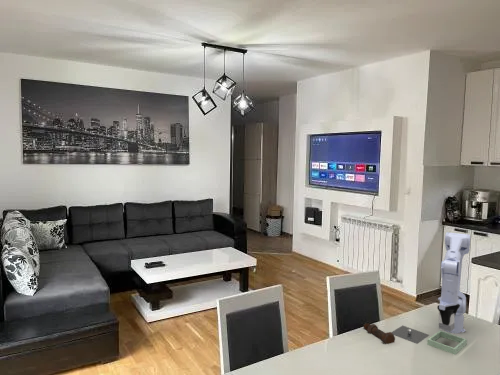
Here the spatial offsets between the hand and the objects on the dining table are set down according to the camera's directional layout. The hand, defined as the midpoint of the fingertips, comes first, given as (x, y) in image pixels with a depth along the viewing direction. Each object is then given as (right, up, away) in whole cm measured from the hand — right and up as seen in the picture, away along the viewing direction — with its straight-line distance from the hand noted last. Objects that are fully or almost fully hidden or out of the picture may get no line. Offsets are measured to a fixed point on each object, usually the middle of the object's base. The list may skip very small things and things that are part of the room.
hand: (447, 322), depth 148 cm
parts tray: (0, -10, +1) cm, 10 cm away
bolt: (-26, -10, +8) cm, 29 cm away
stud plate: (-12, -9, +9) cm, 18 cm away
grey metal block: (0, -3, 0) cm, 3 cm away
